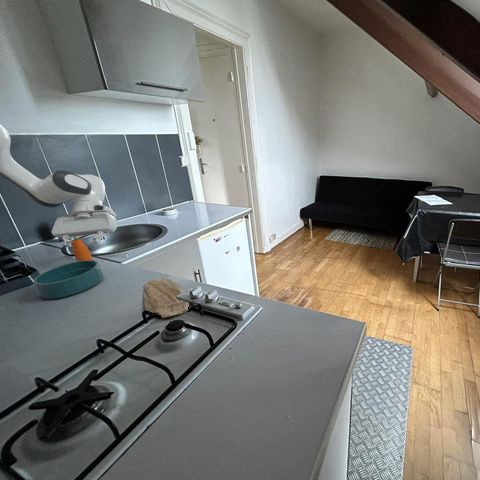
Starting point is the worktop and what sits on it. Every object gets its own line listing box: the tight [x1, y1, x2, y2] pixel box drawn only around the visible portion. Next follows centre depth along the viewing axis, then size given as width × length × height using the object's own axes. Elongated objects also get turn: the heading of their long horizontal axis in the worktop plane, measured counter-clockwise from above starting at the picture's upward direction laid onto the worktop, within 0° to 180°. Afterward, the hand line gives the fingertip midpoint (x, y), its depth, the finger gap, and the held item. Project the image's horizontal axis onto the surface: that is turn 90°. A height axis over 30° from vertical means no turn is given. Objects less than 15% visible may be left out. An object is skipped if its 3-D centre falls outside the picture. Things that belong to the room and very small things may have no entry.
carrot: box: [70, 236, 94, 262], centre depth 96 cm, size 4×4×11 cm
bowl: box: [32, 259, 104, 300], centre depth 83 cm, size 15×15×6 cm
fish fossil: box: [142, 277, 190, 319], centre depth 75 cm, size 26×10×1 cm, turn 48°
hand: (82, 244), depth 98 cm, fingers open, 8 cm apart
